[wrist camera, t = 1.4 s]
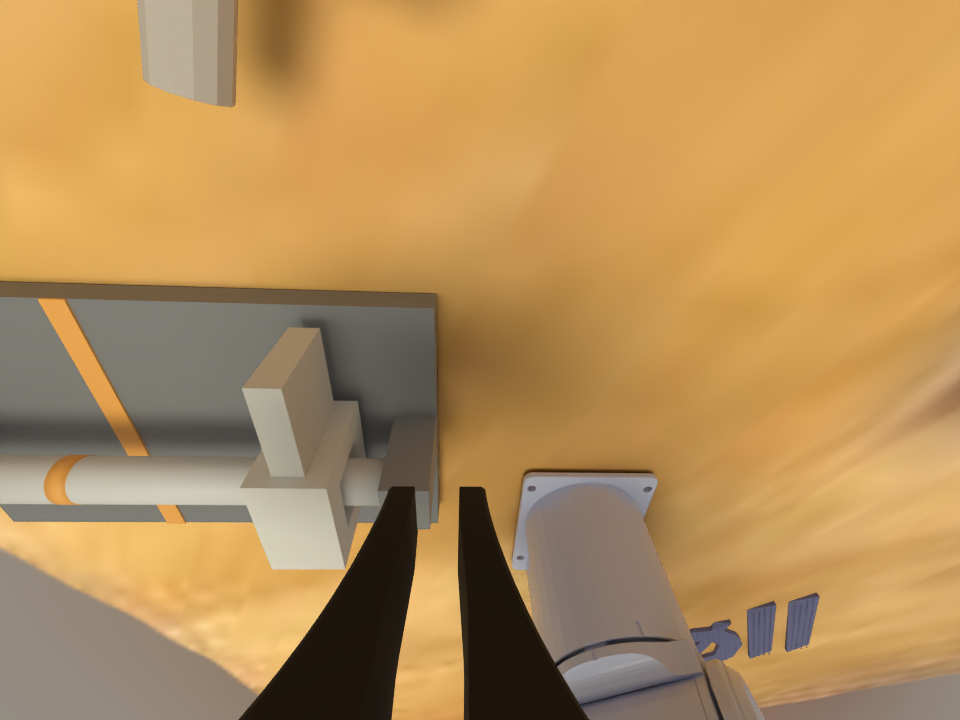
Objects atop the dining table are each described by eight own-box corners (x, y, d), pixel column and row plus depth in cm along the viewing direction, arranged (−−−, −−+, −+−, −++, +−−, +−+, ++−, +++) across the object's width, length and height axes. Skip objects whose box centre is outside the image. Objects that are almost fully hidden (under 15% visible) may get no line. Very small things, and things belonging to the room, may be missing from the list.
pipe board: (439, 501, 26) (432, 601, 21) (36, 499, 25) (-74, 603, 20) (436, 293, 18) (424, 369, 13) (-143, 277, 17) (-398, 353, 12)
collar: (369, 476, 22) (345, 569, 17) (310, 476, 21) (271, 569, 17) (346, 322, 17) (305, 399, 12) (270, 320, 17) (203, 397, 12)
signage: (516, 702, 42) (484, 662, 37) (516, 694, 43) (483, 654, 38) (811, 651, 38) (820, 597, 33) (806, 642, 38) (813, 588, 33)
